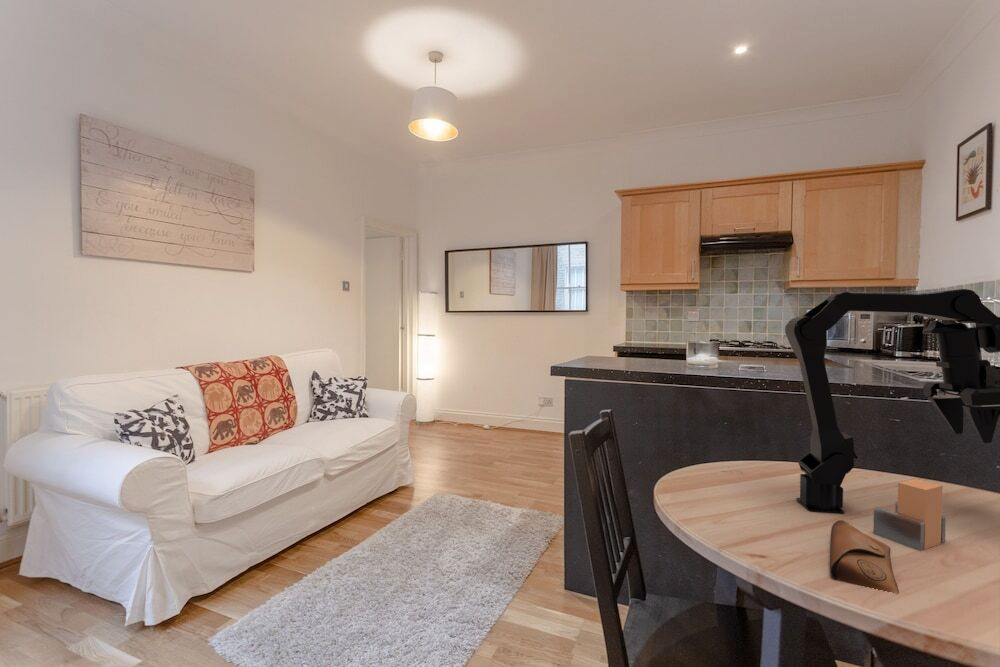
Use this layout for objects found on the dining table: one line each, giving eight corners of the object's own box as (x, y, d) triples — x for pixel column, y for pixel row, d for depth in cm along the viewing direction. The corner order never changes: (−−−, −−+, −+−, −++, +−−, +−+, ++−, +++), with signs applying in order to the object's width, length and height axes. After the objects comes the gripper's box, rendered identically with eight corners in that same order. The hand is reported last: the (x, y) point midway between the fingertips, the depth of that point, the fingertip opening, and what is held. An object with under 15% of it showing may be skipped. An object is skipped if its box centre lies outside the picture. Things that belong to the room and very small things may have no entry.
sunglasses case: (904, 597, 67) (874, 549, 69) (850, 607, 70) (823, 562, 72) (891, 546, 82) (866, 508, 83) (846, 557, 85) (824, 521, 87)
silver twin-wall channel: (873, 534, 86) (873, 507, 86) (898, 527, 89) (898, 501, 89) (919, 552, 80) (920, 522, 80) (945, 543, 83) (946, 515, 83)
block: (896, 539, 84) (898, 482, 84) (913, 534, 86) (914, 478, 86) (924, 549, 80) (926, 490, 80) (940, 543, 82) (942, 485, 82)
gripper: (1052, 352, 80) (1067, 447, 79) (985, 350, 97) (996, 428, 96) (967, 358, 83) (980, 448, 83) (917, 355, 101) (927, 430, 100)
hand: (972, 438), depth 90 cm, fingers open, 9 cm apart
